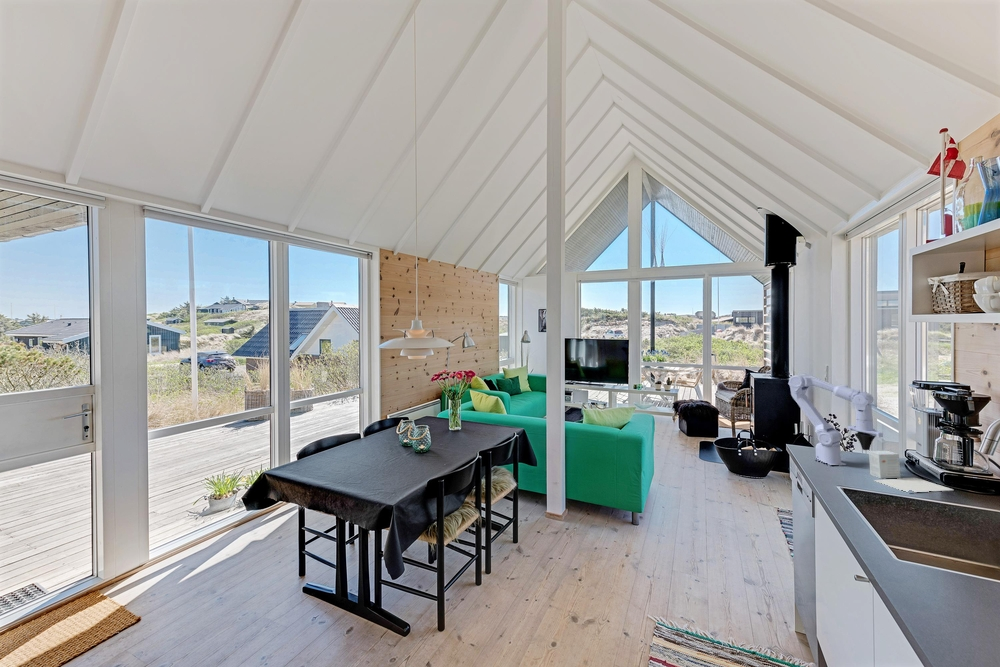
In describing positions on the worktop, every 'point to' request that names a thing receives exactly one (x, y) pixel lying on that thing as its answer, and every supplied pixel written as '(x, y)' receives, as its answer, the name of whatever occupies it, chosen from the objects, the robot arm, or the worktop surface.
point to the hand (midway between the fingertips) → (866, 449)
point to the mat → (913, 485)
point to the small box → (884, 464)
